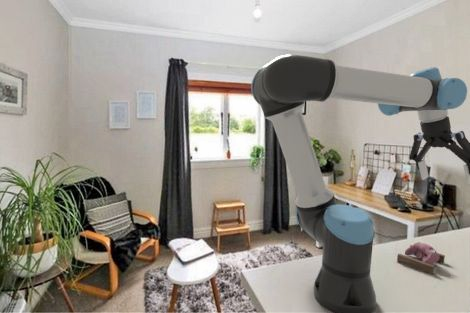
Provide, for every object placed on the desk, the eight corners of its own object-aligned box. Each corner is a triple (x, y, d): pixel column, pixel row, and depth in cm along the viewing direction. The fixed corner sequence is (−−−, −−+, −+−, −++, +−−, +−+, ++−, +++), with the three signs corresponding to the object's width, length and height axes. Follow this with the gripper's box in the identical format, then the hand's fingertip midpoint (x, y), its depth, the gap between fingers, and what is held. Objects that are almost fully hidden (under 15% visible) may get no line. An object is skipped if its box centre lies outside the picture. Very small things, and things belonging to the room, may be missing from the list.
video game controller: (433, 273, 89) (445, 255, 89) (421, 267, 89) (433, 249, 88) (413, 258, 99) (423, 241, 98) (402, 252, 99) (412, 235, 98)
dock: (432, 274, 86) (433, 266, 86) (397, 261, 94) (397, 254, 93) (444, 262, 94) (444, 255, 93) (410, 251, 101) (411, 244, 101)
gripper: (489, 110, 78) (501, 180, 82) (403, 118, 101) (415, 172, 105) (474, 119, 75) (487, 191, 79) (389, 125, 98) (402, 180, 102)
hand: (446, 180), depth 92 cm, fingers open, 13 cm apart
